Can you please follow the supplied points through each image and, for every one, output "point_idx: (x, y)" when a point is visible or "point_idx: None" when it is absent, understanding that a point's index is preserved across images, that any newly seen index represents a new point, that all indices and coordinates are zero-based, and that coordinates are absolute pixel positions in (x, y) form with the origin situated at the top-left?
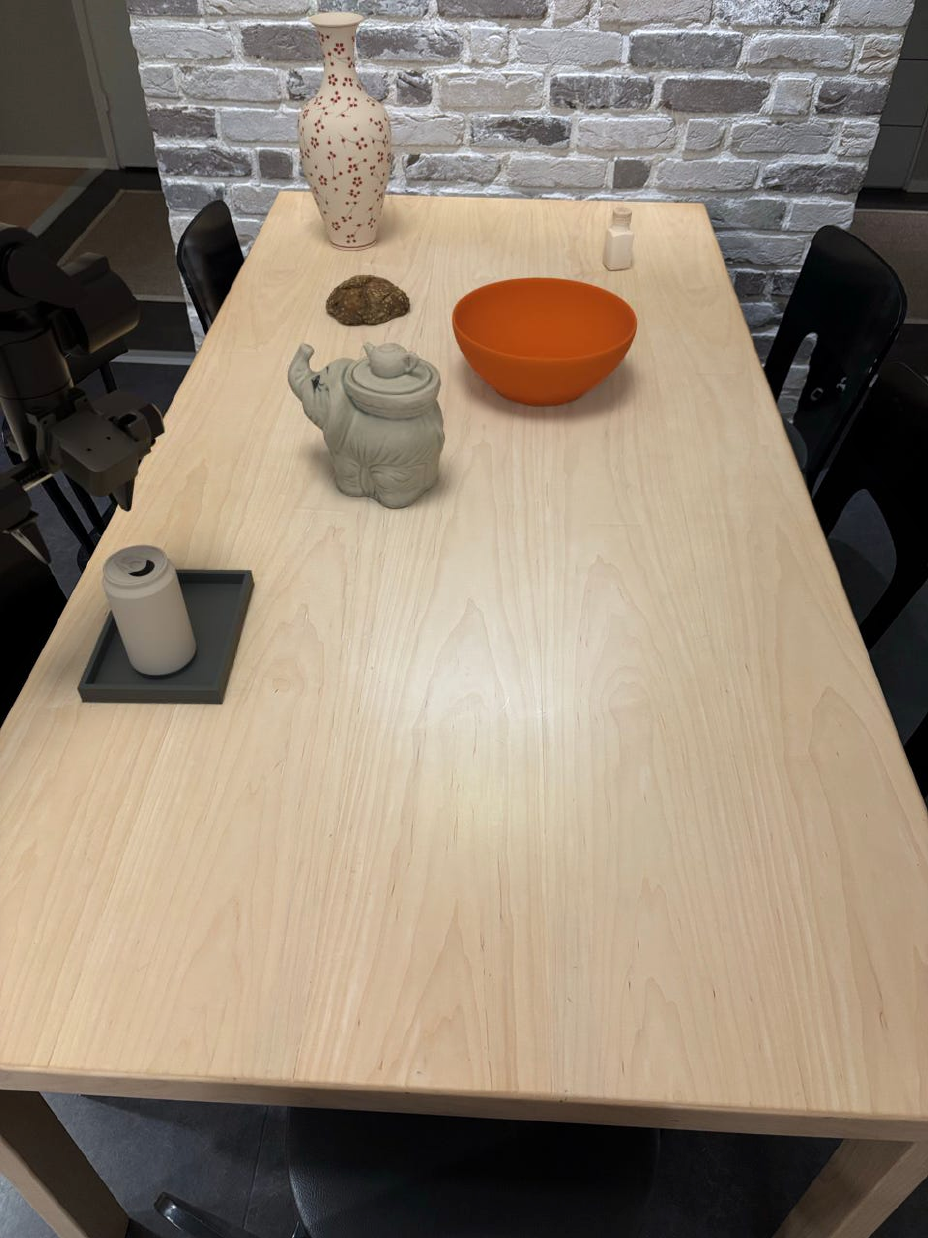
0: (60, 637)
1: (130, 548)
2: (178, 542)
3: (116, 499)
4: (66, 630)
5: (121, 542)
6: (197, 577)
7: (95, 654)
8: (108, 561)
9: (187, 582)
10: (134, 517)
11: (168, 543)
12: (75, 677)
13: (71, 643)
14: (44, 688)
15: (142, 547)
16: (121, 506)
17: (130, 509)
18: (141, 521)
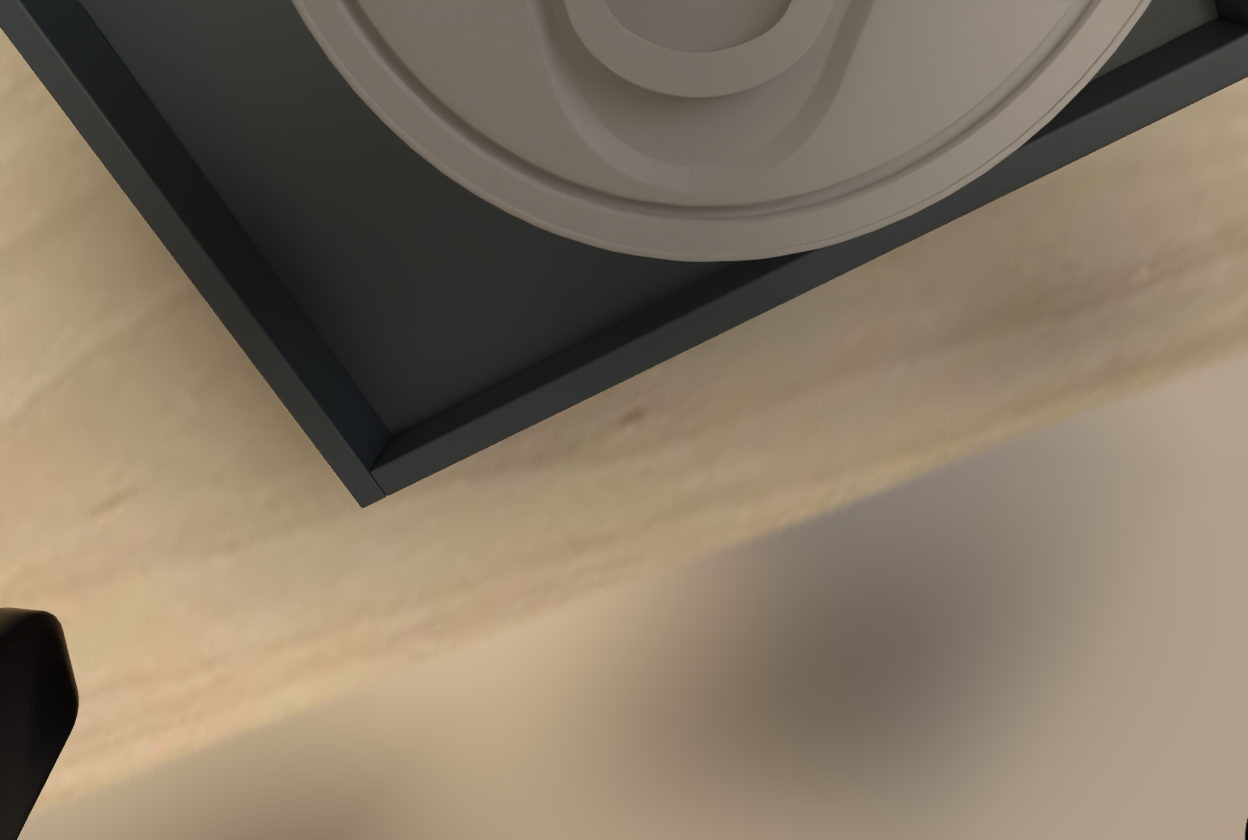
0: (879, 488)
1: (473, 145)
2: (52, 468)
3: (14, 827)
4: (825, 497)
5: (240, 681)
6: (149, 141)
7: (1001, 169)
8: (845, 201)
9: (213, 192)
10: (94, 737)
11: (91, 503)
12: (1093, 216)
13: (889, 415)
14: (1228, 300)
15: (356, 16)
16: (51, 719)
17: (6, 610)
18: (88, 698)
